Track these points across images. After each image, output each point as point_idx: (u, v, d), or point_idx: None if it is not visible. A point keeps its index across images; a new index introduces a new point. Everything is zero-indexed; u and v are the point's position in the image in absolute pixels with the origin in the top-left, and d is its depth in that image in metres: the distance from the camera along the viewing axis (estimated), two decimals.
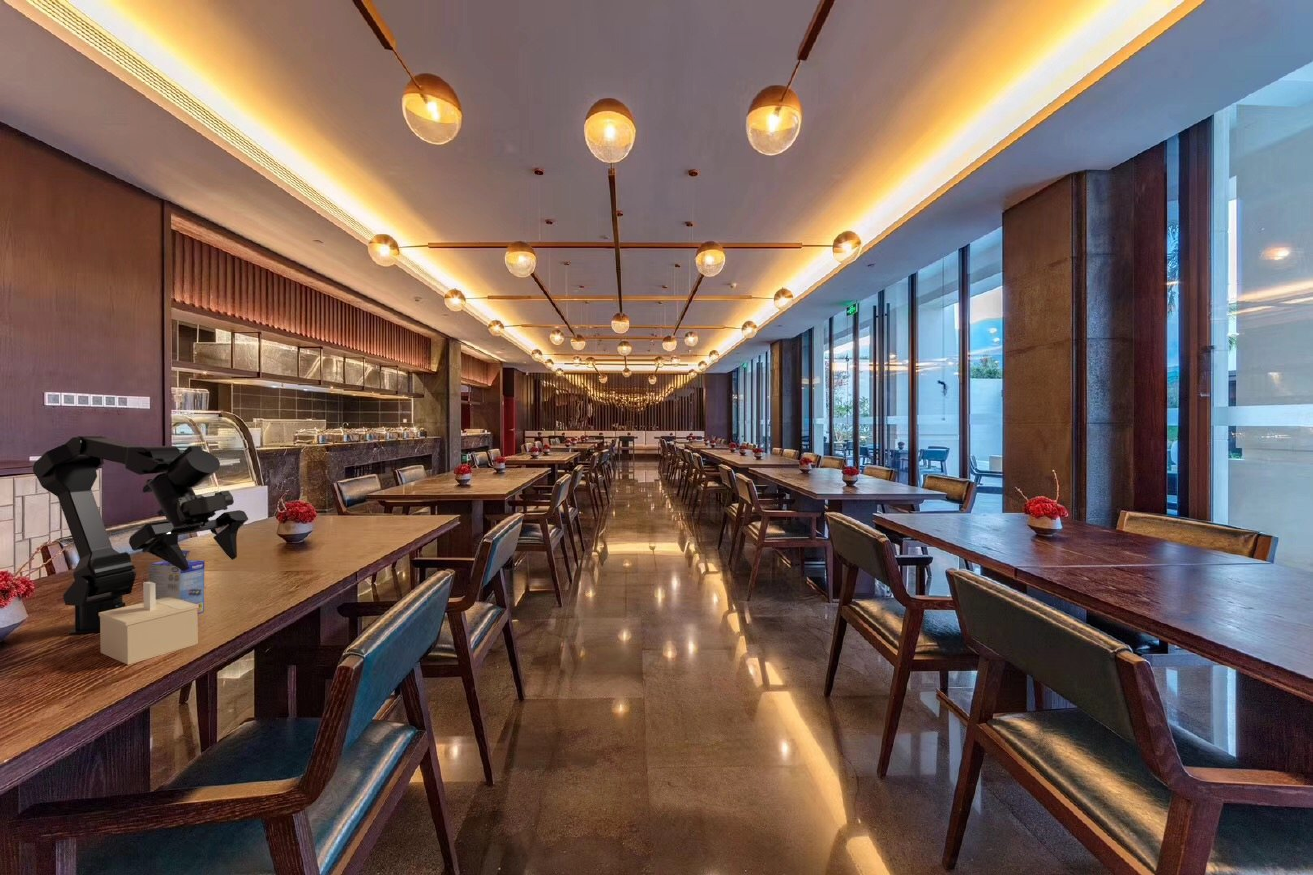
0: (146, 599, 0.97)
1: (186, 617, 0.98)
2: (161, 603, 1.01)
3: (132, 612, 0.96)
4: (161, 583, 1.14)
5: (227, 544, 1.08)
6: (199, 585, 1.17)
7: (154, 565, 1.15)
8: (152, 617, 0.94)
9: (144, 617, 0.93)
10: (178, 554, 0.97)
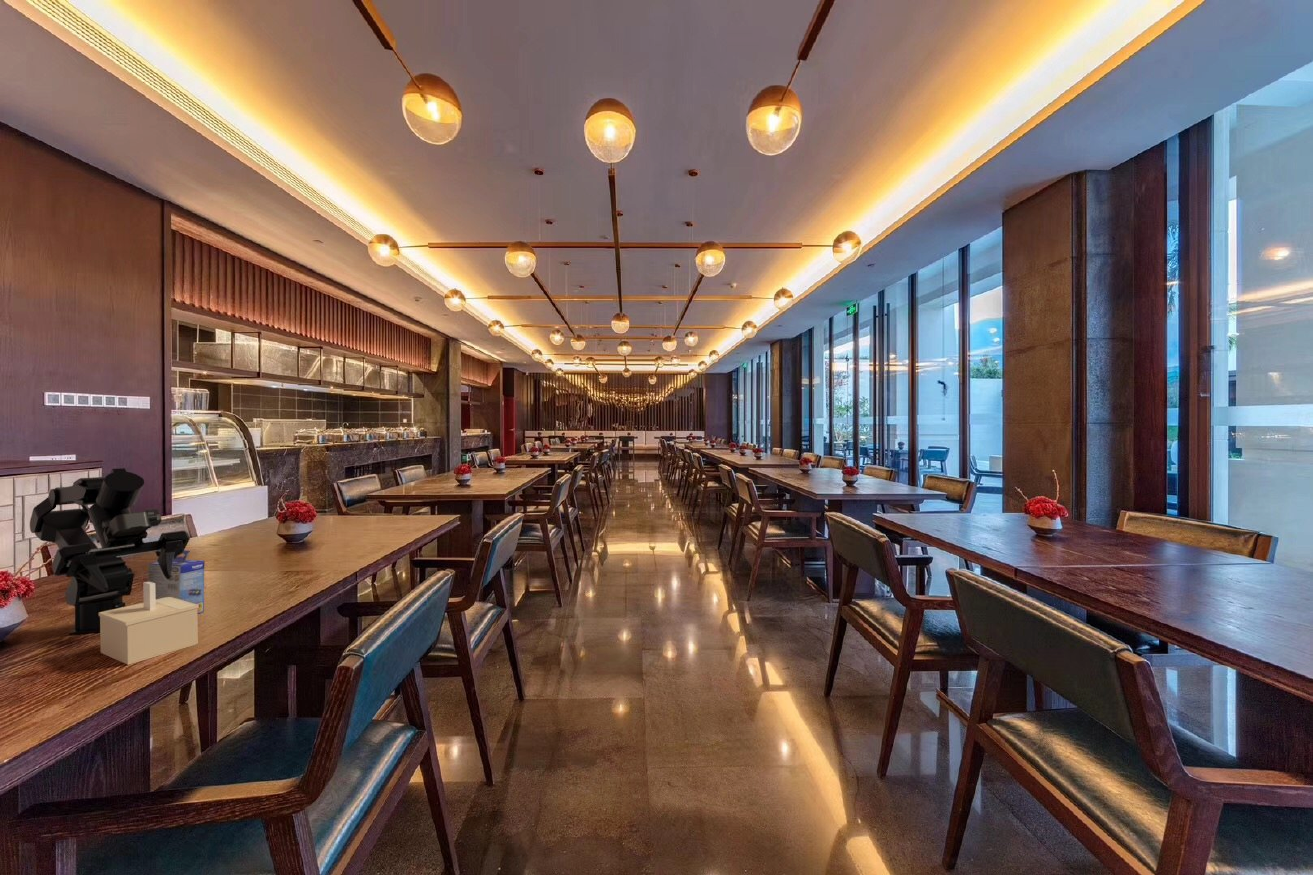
0: (146, 599, 0.97)
1: (186, 617, 0.98)
2: (161, 603, 1.01)
3: (132, 612, 0.96)
4: (161, 583, 1.14)
5: (164, 564, 1.05)
6: (199, 585, 1.17)
7: (154, 565, 1.15)
8: (152, 617, 0.94)
9: (144, 617, 0.93)
10: (96, 575, 0.95)
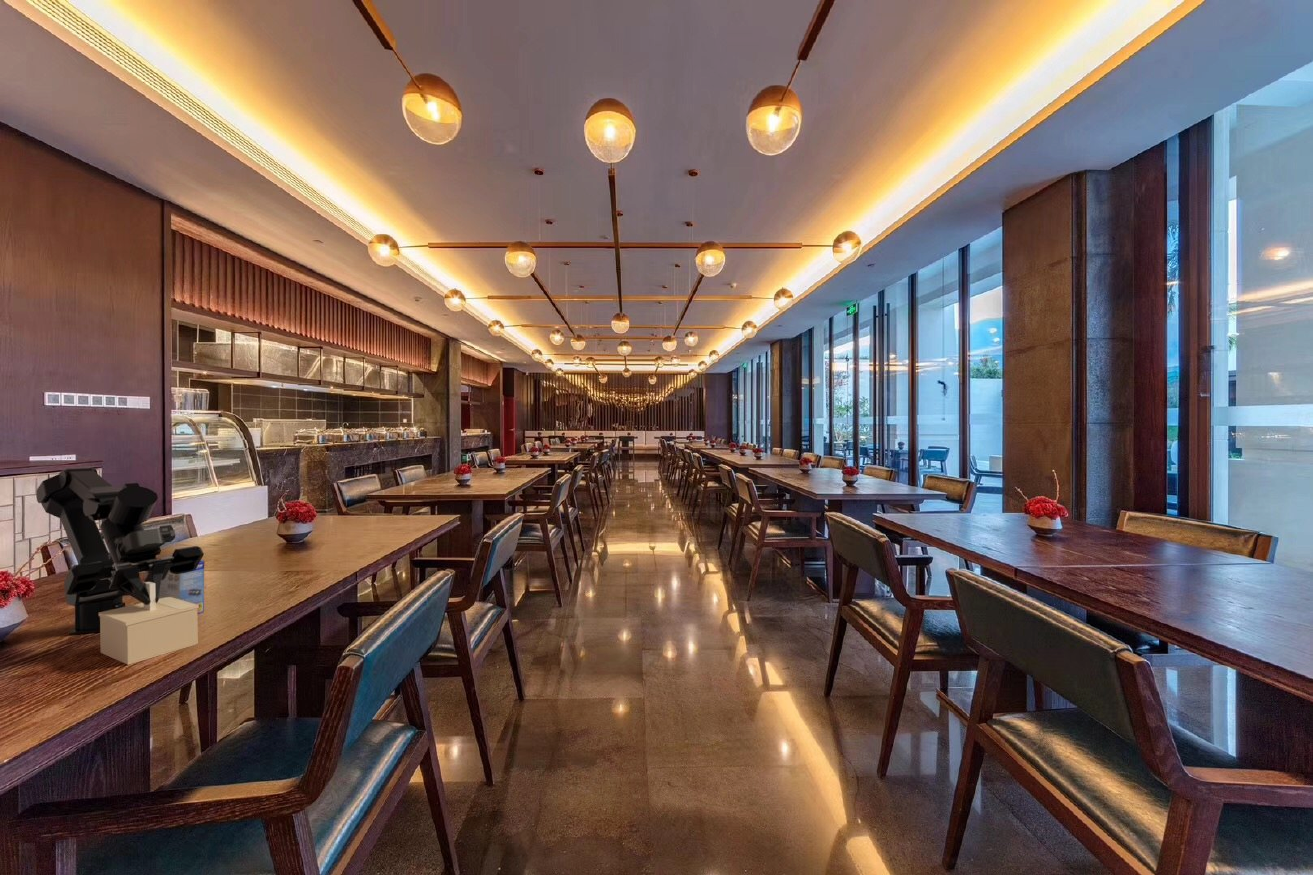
0: None
1: (186, 617, 0.98)
2: (161, 603, 1.01)
3: (132, 612, 0.96)
4: (161, 583, 1.14)
5: None
6: (199, 585, 1.17)
7: None
8: (152, 617, 0.94)
9: (144, 617, 0.93)
10: (139, 588, 0.96)
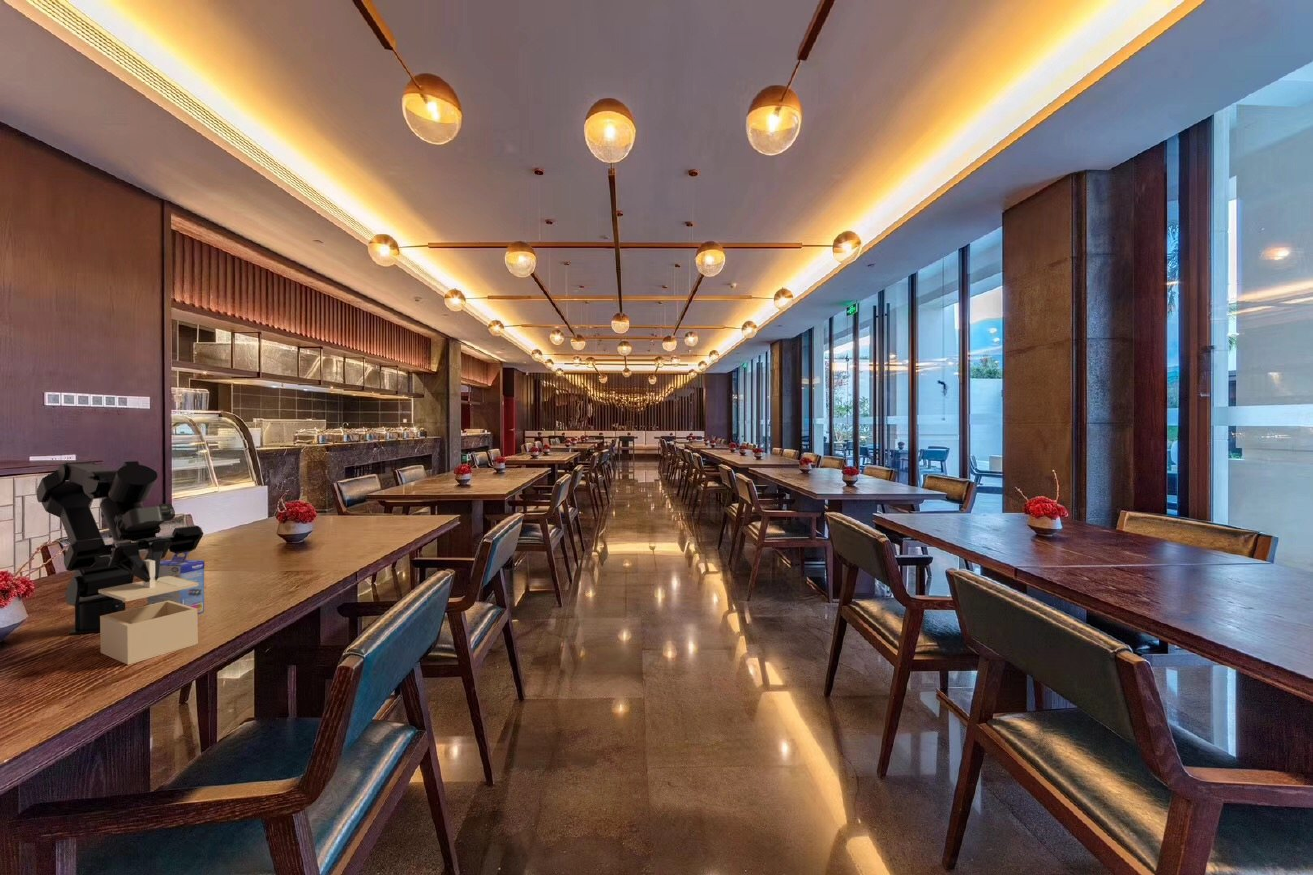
0: None
1: (186, 617, 0.98)
2: (161, 581, 1.01)
3: (132, 589, 0.96)
4: None
5: None
6: (199, 585, 1.17)
7: None
8: (152, 594, 0.94)
9: (144, 593, 0.93)
10: (138, 565, 0.96)
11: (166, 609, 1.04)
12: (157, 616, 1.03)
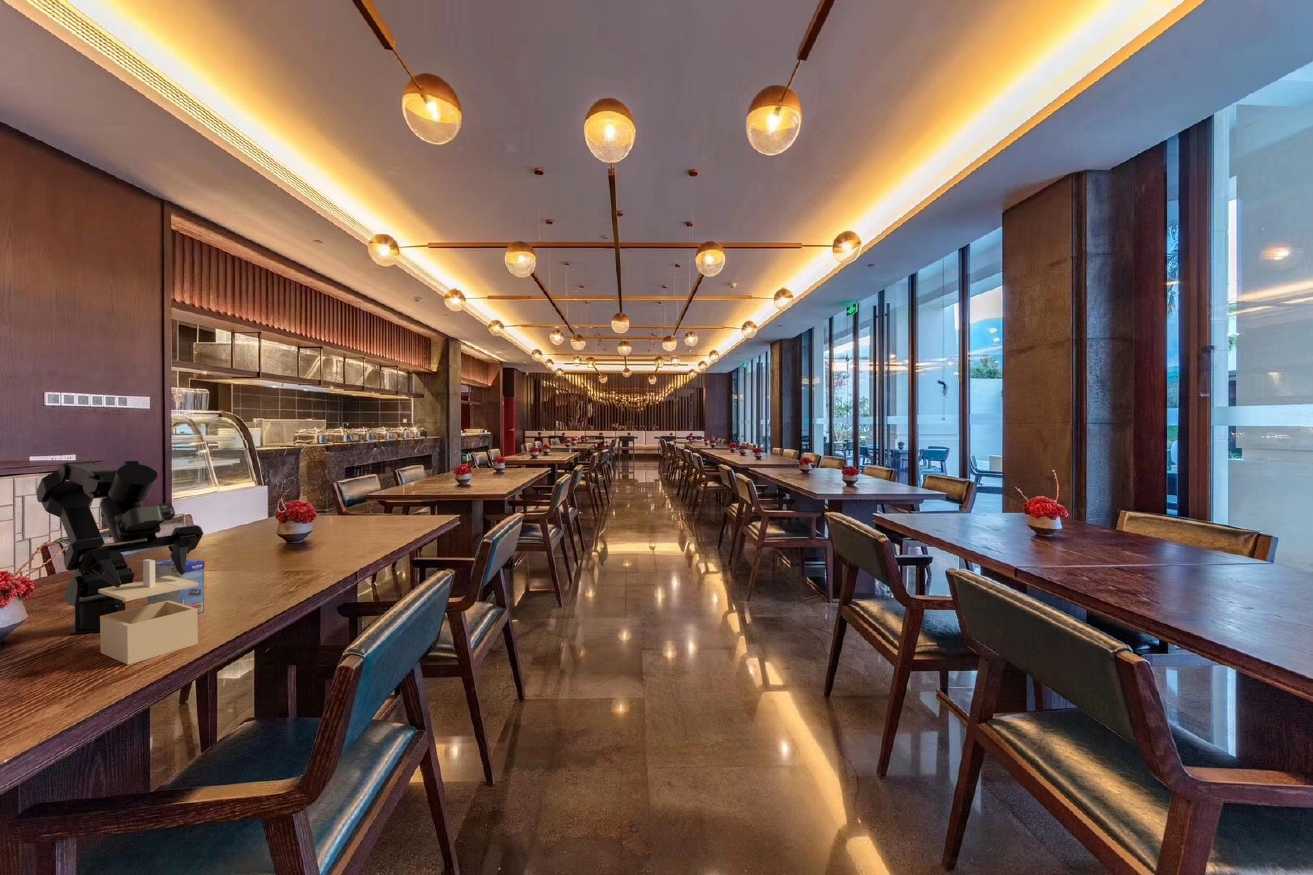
0: (146, 576, 0.97)
1: (186, 617, 0.98)
2: (161, 581, 1.01)
3: (132, 589, 0.96)
4: None
5: (177, 559, 1.02)
6: (199, 585, 1.17)
7: None
8: (152, 593, 0.94)
9: (144, 593, 0.93)
10: (109, 570, 0.93)
11: (166, 609, 1.04)
12: (157, 616, 1.03)
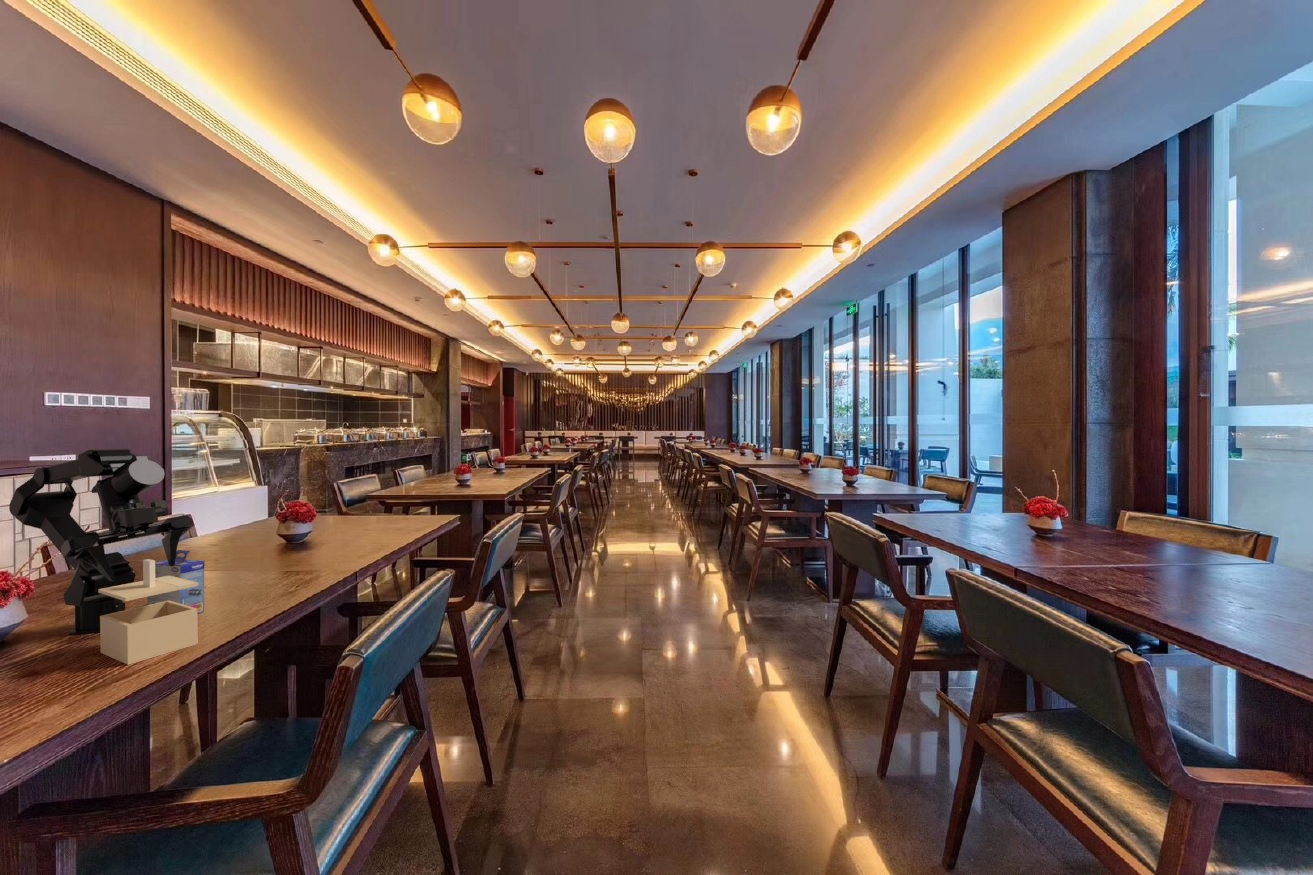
0: (146, 576, 0.97)
1: (186, 617, 0.98)
2: (161, 581, 1.01)
3: (132, 589, 0.96)
4: None
5: (168, 550, 1.09)
6: (199, 585, 1.17)
7: None
8: (152, 593, 0.94)
9: (144, 593, 0.93)
10: (103, 565, 0.99)
11: (166, 609, 1.04)
12: (157, 616, 1.03)
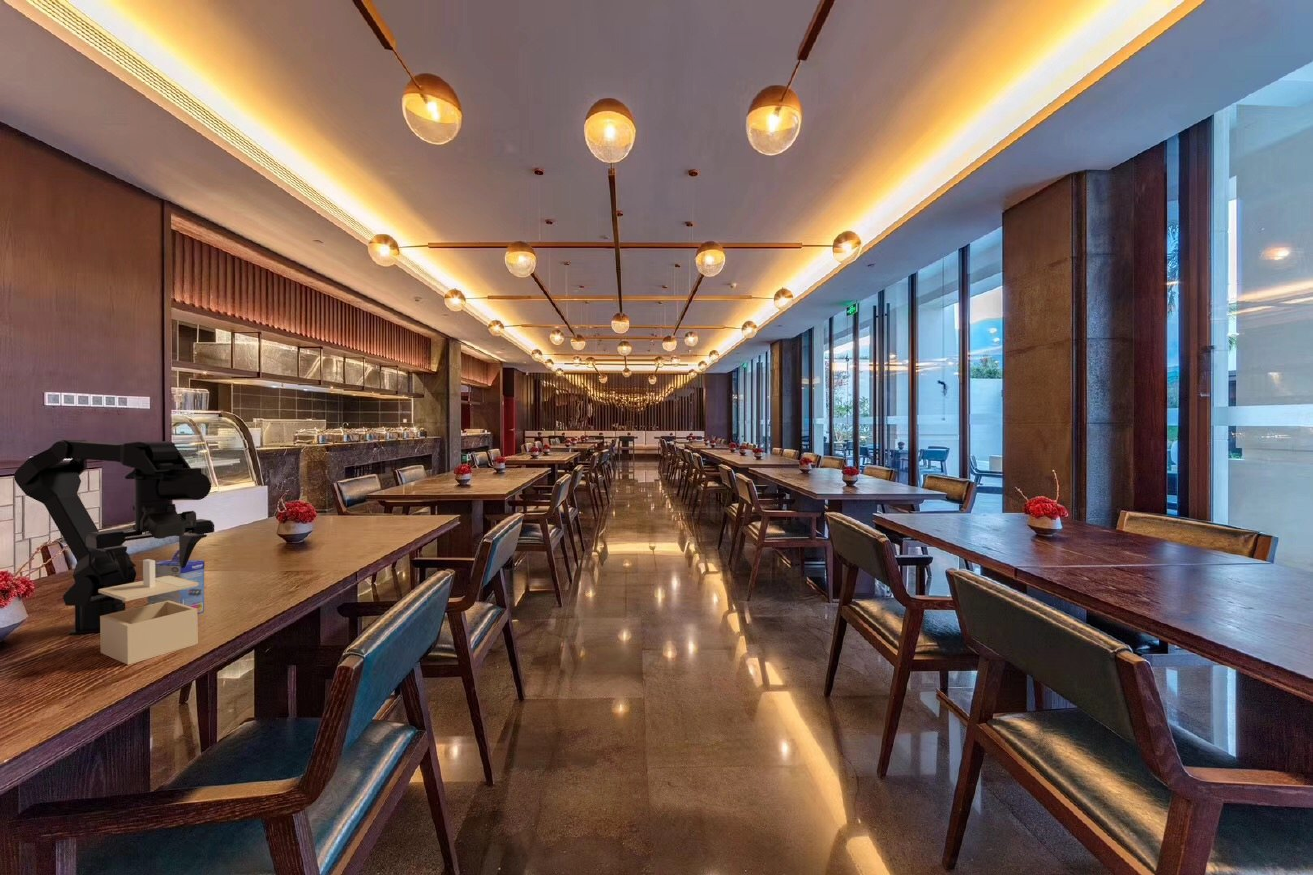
0: (146, 576, 0.97)
1: (186, 617, 0.98)
2: (161, 581, 1.01)
3: (132, 589, 0.96)
4: None
5: (183, 552, 1.12)
6: (199, 585, 1.17)
7: None
8: (152, 593, 0.94)
9: (144, 593, 0.93)
10: (121, 565, 1.02)
11: (166, 609, 1.04)
12: (157, 616, 1.03)
